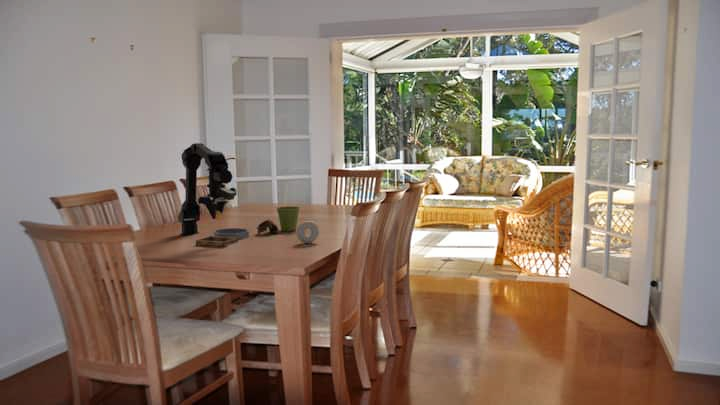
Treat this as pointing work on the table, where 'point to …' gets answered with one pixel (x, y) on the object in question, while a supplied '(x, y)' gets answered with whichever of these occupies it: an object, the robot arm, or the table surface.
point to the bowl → (232, 233)
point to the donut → (303, 227)
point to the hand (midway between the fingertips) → (216, 218)
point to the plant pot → (288, 217)
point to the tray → (216, 241)
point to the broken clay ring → (270, 225)
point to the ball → (218, 215)
